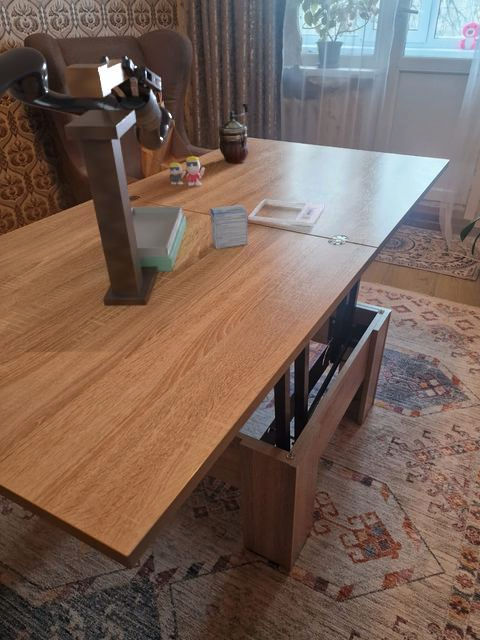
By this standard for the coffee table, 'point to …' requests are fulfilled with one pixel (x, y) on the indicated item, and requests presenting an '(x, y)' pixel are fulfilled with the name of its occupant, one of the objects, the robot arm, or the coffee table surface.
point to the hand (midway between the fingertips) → (114, 61)
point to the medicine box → (229, 226)
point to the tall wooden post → (113, 203)
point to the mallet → (94, 78)
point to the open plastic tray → (158, 235)
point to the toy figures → (191, 167)
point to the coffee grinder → (234, 139)
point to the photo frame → (304, 218)
